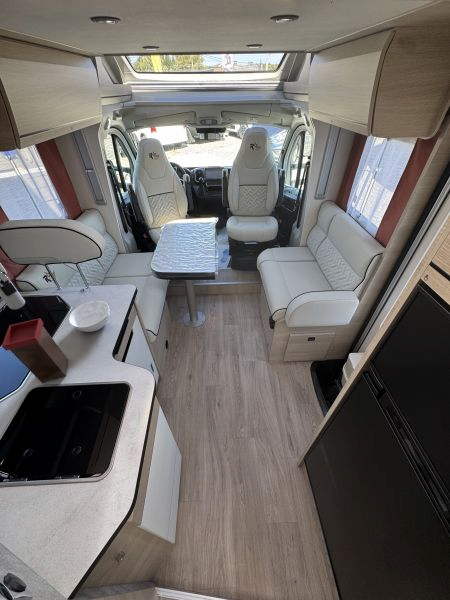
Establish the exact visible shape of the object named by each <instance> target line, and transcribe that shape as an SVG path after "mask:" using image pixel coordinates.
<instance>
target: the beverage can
mask: <svg viewBox="0 0 450 600" xmlns="http://www.w3.org/2000/svg"><path fill="white" fill-rule="evenodd" d="M5 276H6V277H7V278H8V279H9V281H10V282H11V283H12V285H13V286H14V288H15V289H16V290H17V292H15V293H13V294H11V295H10V296H6V295H5V294H4V292H3V291H2V290H1V289H0V298H1V299H2V300H3V302H4V303H5V304H6V305H7V307H8V308H9V309H11V310H19V309H21V308H23V307H24V306H25V304H26V300H25V299H24V297H23V296H22V295H21V293H20V292H19V290H18V289H17V288H16V286H15V284H14V283H13V282H12V281H11V279H10V278H9V276H7V274H6V275H5ZM0 281H1V278H0Z"/></svg>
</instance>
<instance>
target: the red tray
mask: <svg viewBox="0 0 450 600" xmlns="http://www.w3.org/2000/svg"><path fill="white" fill-rule="evenodd" d="M42 327H44V321H43V320H42V318H40V317H39V318H35V319H31V320H27V321H22V322H18V323H14V324H9V325H8V327H7V331H6V333H5V336H4V339H3V341H2V344H1V348H3V349H4V350H5V352H7V351H10V350H11V349H15V348H19V347H23V346H26V345H30V344H34V343H38V342H39V340H40V335H41V331H42Z"/></svg>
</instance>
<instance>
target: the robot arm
mask: <svg viewBox="0 0 450 600" xmlns="http://www.w3.org/2000/svg"><path fill="white" fill-rule="evenodd" d="M7 274H8V272H7V270H6V269H5V267H4V266H3V265H2V263H1V262H0V278H1V281H0V289H1V290H2V291H3V292H4V294H5V295H6V296H10V295H11V294H13V293H15V292H17V291H18V289H17V288H16V287H15V288H16V289H17V290H16V289H15V288H14V286H15V285H14V284H13V282H12V281H11V280H10V278H9V277H8V276H7ZM5 275H6V276H7V277H8V278H9V279H8V278H7V277H6V276H5ZM9 280H10V281H11V282H12V283H11V282H10V281H9ZM12 284H13V285H14V286H13V285H12Z"/></svg>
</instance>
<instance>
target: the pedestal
mask: <svg viewBox="0 0 450 600" xmlns="http://www.w3.org/2000/svg"><path fill="white" fill-rule="evenodd" d="M9 351H10V353H12V354H13V355H14V356H15V358H16V359H18V360H19V361H20V362H21V364H23V365H24V366H25V367H26V368H27V369H28V370H29V372H30V373H32V374H33V375H34V377H35V378H36V379H38V380H39V382H40V383H41V384H45V383H48V382H51V381H56V380H59V379H61V378H65V377H67V372H68V364H69V358H68V357H67V355H66V354H65V353H64V352H63V350H62V349H61V348H60V346H59V345H58V344H57V342H56V341H55V340H54V338H53V337H52V336H51V335H50V333H49V332H48V331H47V329H46V328H45V327H44V326H43V327H42V331H41V335H40V340H39V342H38V343H34V344H30V345H26V346H23V347H19V348H15V349H11V350H9Z"/></svg>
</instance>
